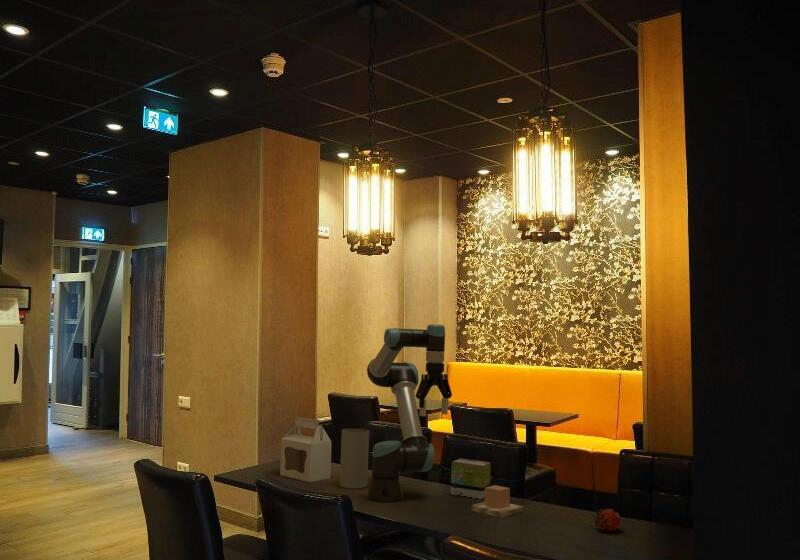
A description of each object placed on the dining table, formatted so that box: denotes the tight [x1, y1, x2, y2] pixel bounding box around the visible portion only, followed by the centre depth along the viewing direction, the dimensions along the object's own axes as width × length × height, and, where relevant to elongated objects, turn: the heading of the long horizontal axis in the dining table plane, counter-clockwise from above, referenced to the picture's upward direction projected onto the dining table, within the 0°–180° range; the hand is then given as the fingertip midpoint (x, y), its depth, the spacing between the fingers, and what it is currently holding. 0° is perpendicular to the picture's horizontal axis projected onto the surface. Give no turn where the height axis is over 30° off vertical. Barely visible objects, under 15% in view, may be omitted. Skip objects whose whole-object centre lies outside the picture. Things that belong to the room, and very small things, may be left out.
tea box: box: [450, 458, 492, 500], centre depth 295 cm, size 15×10×15 cm, turn 62°
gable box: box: [279, 416, 333, 483], centre depth 325 cm, size 22×13×28 cm, turn 49°
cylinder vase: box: [339, 428, 370, 490], centre depth 307 cm, size 12×12×25 cm
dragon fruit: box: [594, 508, 622, 533], centre depth 244 cm, size 8×8×12 cm
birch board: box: [470, 501, 525, 519], centre depth 268 cm, size 15×15×2 cm
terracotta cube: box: [484, 484, 511, 509], centre depth 268 cm, size 7×7×7 cm
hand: (433, 415), depth 272 cm, fingers open, 13 cm apart
